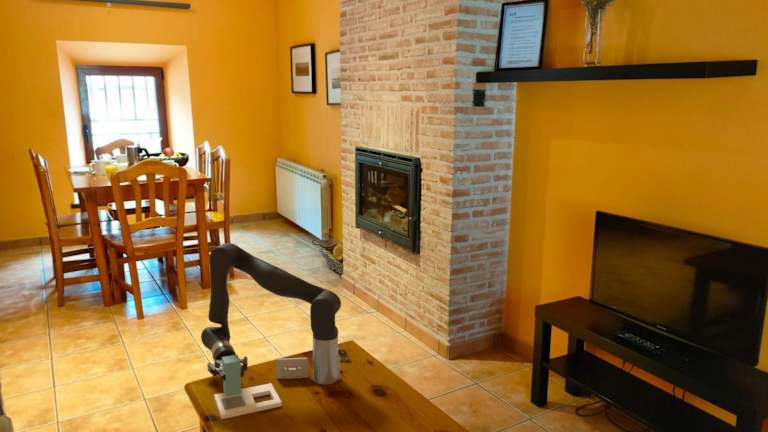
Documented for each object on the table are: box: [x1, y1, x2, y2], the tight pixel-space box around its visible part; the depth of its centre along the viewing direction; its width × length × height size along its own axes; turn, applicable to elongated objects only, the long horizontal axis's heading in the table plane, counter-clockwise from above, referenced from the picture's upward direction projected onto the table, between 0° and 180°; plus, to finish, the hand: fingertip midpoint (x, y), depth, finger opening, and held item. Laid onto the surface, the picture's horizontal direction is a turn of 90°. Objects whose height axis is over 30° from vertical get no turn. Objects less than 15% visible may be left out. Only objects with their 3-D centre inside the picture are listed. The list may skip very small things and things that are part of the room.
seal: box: [338, 348, 350, 363], centre depth 232 cm, size 9×5×15 cm
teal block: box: [222, 354, 242, 397], centre depth 192 cm, size 5×5×12 cm
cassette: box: [275, 357, 309, 380], centre depth 215 cm, size 12×2×8 cm, turn 97°
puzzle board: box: [213, 382, 283, 420], centre depth 198 cm, size 20×14×2 cm
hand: (233, 376), depth 190 cm, fingers closed on teal block, 5 cm apart
